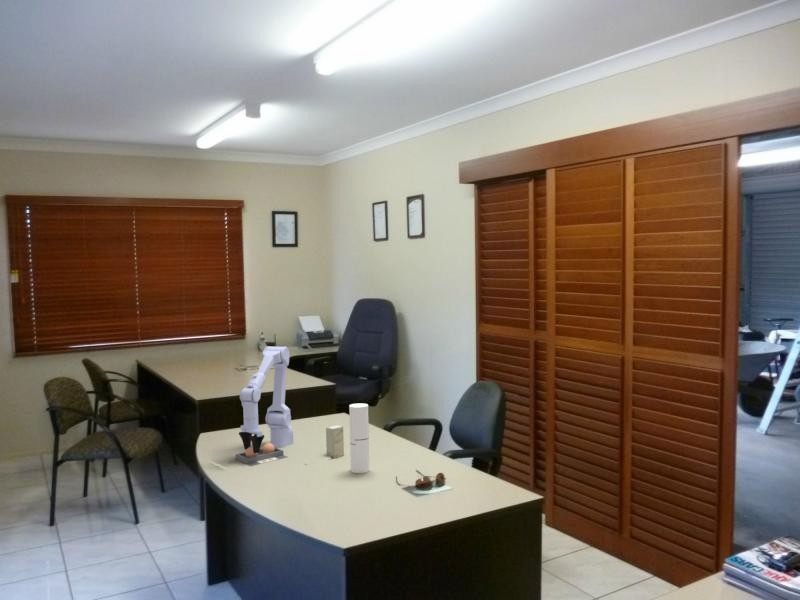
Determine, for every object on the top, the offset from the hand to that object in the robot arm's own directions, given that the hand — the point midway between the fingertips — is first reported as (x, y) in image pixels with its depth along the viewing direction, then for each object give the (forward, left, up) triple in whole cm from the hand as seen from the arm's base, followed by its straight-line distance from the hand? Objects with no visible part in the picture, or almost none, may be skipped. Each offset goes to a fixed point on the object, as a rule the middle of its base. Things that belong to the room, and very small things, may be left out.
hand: (251, 450), depth 257 cm
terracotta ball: (0, 0, -3) cm, 3 cm away
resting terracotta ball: (-7, 0, -3) cm, 8 cm away
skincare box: (-28, +18, -5) cm, 34 cm away
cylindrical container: (-24, +40, -4) cm, 47 cm away
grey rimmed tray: (-3, +2, -4) cm, 6 cm away
